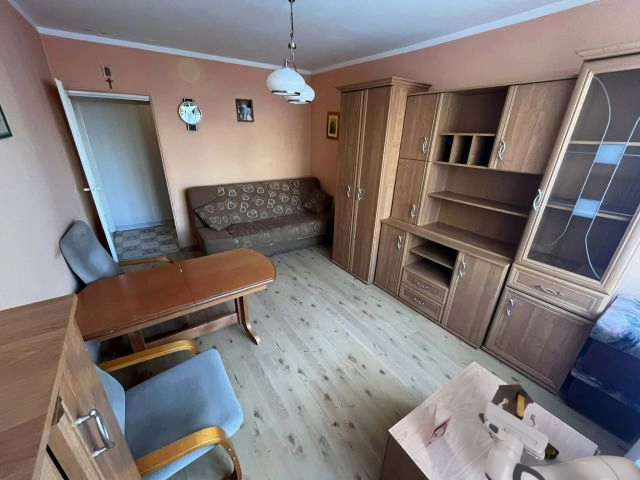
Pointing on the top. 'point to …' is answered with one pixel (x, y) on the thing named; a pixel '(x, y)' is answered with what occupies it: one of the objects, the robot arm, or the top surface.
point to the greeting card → (436, 429)
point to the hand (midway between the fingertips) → (519, 407)
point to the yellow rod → (520, 403)
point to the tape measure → (551, 452)
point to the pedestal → (510, 395)
